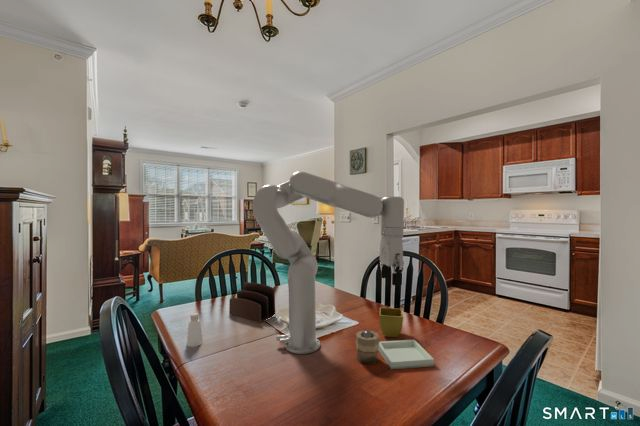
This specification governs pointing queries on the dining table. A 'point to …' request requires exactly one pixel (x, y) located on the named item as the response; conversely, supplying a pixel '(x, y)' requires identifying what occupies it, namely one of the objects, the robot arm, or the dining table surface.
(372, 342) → the birch ring
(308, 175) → the robot arm
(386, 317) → the flower pot
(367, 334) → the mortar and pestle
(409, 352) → the tray
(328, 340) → the dining table surface
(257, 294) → the letter holder
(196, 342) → the salt shaker
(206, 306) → the dining table surface
